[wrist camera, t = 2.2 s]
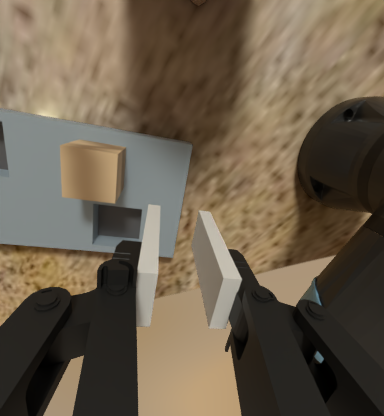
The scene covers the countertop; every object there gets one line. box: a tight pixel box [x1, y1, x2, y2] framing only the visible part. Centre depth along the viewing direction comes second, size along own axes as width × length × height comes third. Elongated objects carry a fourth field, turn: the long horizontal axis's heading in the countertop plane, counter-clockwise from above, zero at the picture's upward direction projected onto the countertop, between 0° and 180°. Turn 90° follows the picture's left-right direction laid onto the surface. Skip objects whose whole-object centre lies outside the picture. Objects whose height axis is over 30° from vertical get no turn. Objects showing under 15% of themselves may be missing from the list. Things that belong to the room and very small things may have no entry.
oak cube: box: [60, 139, 126, 204], centre depth 23 cm, size 5×5×5 cm
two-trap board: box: [0, 108, 193, 258], centre depth 26 cm, size 34×16×6 cm, turn 80°
